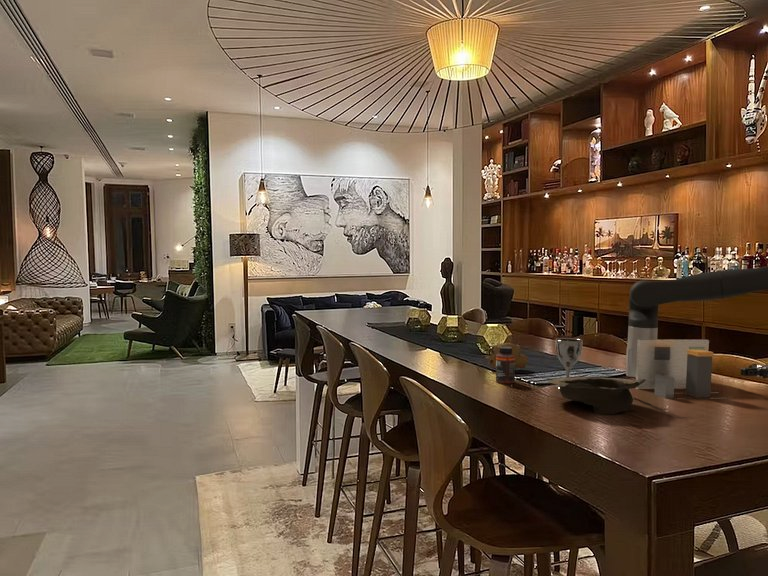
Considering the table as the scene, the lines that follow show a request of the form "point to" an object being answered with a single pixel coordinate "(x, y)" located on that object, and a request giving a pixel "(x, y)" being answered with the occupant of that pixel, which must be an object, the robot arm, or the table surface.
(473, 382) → the table surface
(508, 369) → the supplement bottle
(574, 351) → the wine glass
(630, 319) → the robot arm
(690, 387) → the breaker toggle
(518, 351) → the wooden carving
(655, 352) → the white upright board
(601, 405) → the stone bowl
